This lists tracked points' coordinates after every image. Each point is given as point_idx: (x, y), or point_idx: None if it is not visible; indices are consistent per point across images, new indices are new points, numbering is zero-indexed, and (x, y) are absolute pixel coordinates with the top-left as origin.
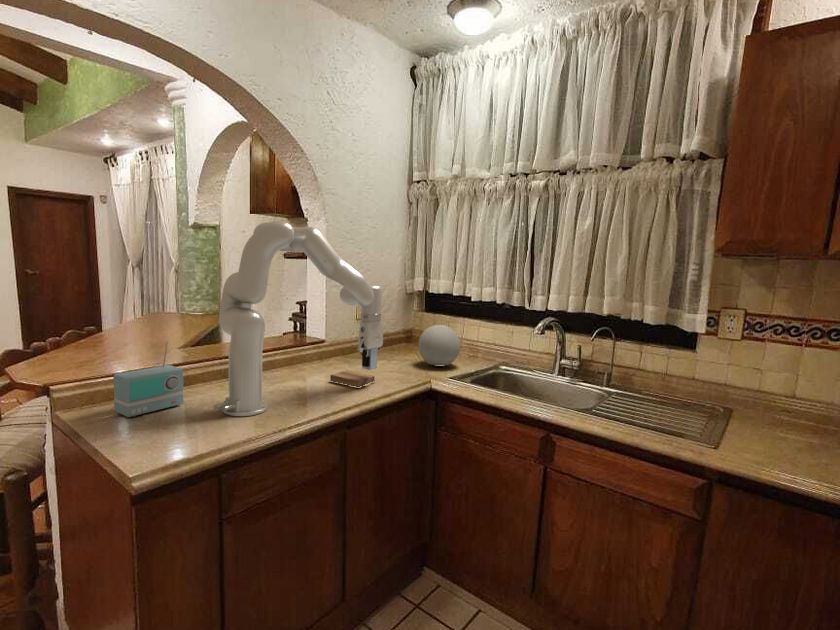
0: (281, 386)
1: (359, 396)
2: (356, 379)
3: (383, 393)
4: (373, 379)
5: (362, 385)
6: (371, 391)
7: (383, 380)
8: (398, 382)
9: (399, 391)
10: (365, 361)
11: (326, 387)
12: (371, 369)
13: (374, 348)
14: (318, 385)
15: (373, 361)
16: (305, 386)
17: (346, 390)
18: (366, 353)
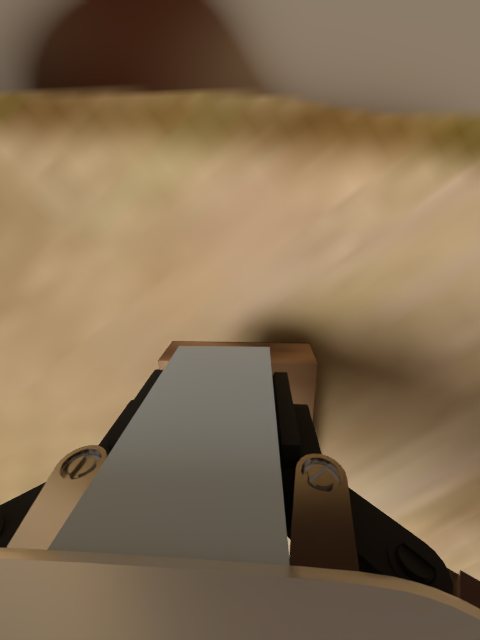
0: (456, 568)
1: (427, 254)
2: (294, 391)
3: (295, 178)
4: (173, 351)
5: (273, 347)
6: (304, 262)
7: (93, 338)
8: (54, 252)
9: (192, 120)
10: (313, 428)
11: (374, 457)
12: (256, 347)
13: (160, 556)
14: (367, 493)
15: (222, 384)
16: (409, 517)
17: (365, 370)
18: (348, 514)
